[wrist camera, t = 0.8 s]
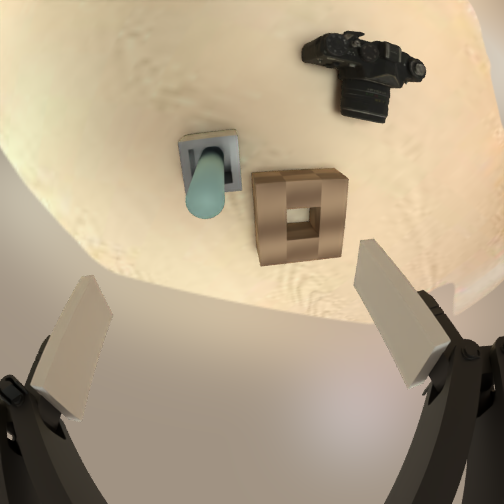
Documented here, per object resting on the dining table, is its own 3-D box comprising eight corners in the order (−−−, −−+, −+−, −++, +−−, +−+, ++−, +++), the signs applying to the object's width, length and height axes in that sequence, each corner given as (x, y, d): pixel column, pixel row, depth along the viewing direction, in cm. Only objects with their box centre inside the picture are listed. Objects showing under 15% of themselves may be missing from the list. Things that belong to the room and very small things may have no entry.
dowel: (199, 147, 33) (182, 185, 20) (222, 144, 33) (222, 180, 20) (202, 168, 35) (188, 220, 21) (224, 166, 35) (226, 216, 22)
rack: (251, 172, 37) (255, 184, 32) (334, 168, 37) (348, 178, 33) (256, 247, 43) (260, 266, 39) (330, 240, 44) (341, 256, 39)
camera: (295, 107, 32) (320, 112, 24) (301, 35, 27) (328, 18, 18) (384, 124, 34) (425, 137, 26) (391, 59, 28) (434, 57, 20)
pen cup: (185, 135, 33) (177, 142, 28) (235, 129, 33) (237, 134, 28) (191, 181, 36) (186, 196, 31) (239, 176, 37) (242, 190, 32)
